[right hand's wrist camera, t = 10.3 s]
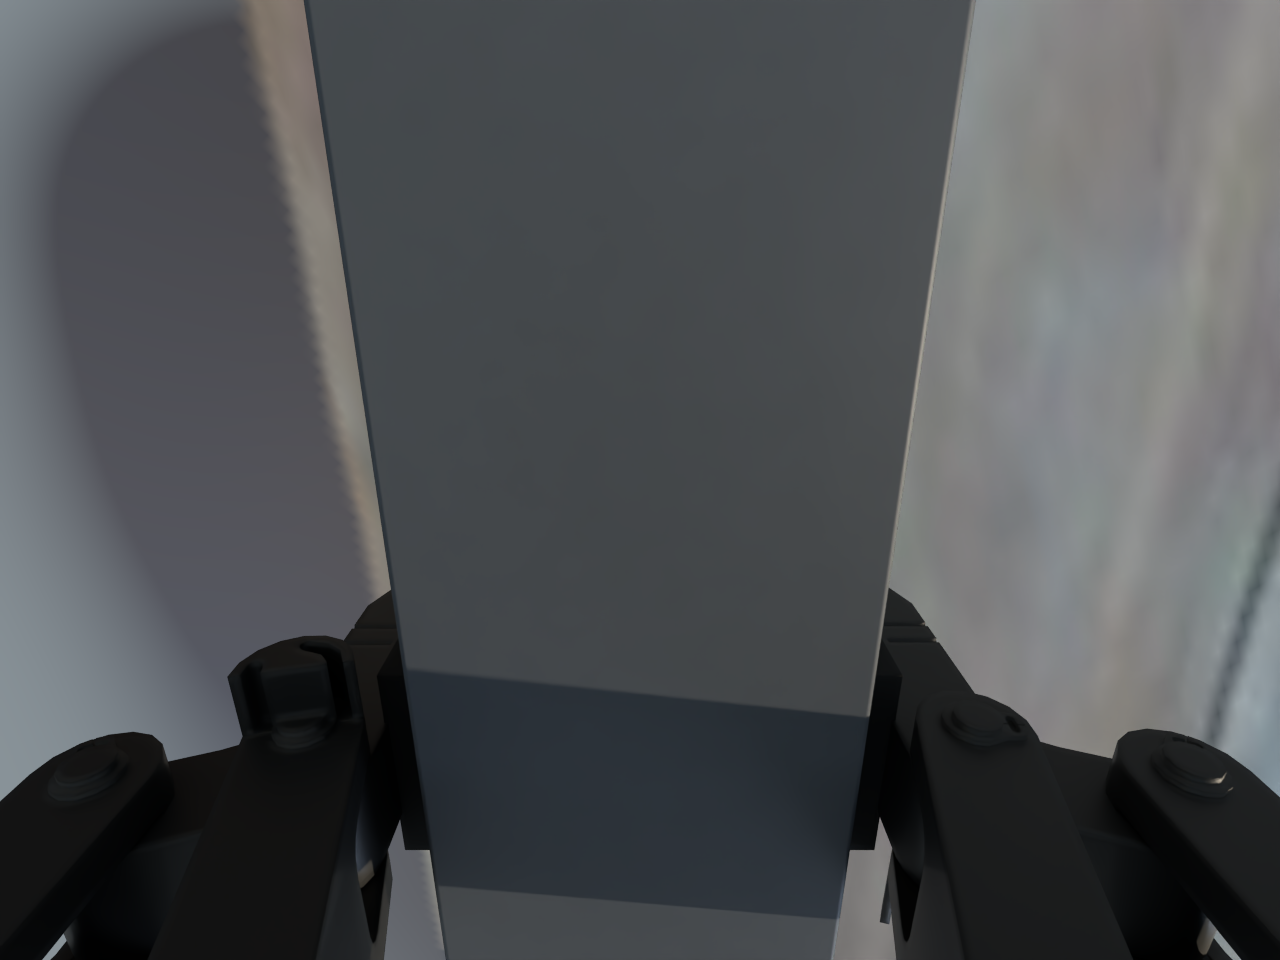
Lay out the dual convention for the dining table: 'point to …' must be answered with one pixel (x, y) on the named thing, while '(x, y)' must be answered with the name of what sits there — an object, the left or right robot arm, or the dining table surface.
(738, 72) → the post
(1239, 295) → the dining table surface
